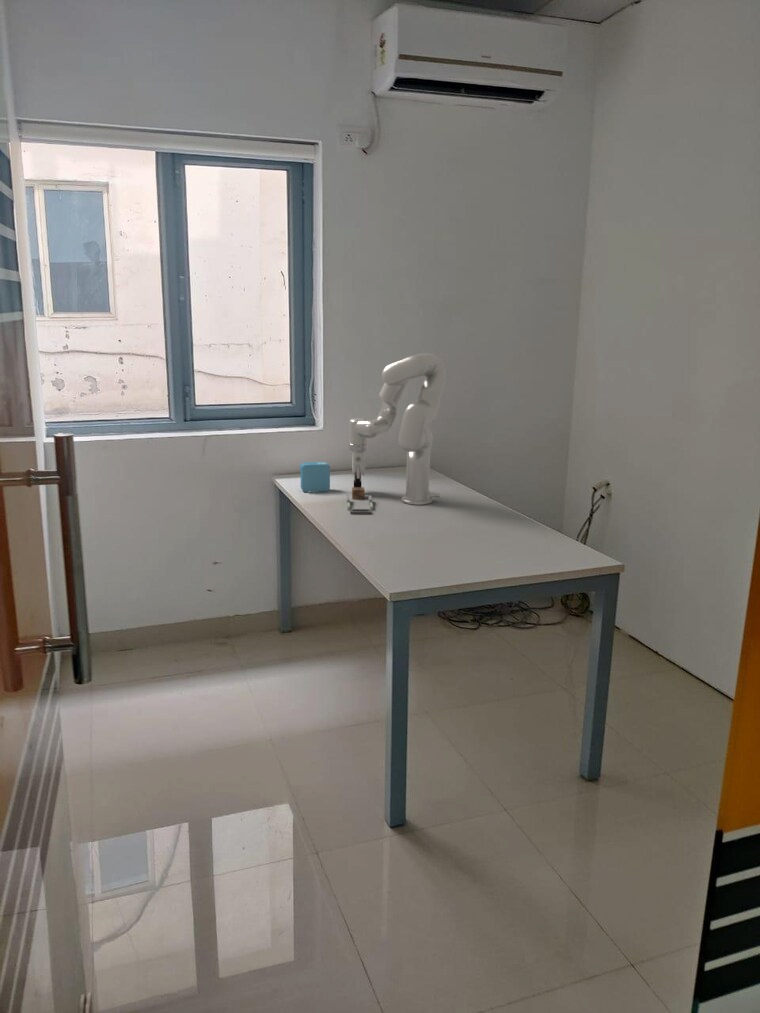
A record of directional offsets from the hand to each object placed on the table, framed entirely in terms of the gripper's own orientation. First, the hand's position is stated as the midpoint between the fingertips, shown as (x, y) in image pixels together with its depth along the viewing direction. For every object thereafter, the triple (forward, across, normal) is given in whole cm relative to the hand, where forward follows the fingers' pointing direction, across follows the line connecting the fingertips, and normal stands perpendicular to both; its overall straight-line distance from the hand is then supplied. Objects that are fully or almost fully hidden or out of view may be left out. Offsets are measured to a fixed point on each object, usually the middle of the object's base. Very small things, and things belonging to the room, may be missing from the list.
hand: (357, 489), depth 333 cm
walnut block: (+2, -8, 0) cm, 8 cm away
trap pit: (+1, -32, 0) cm, 32 cm away
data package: (+2, +4, +18) cm, 18 cm away
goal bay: (+1, -25, 0) cm, 25 cm away
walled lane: (+1, -18, 0) cm, 18 cm away
